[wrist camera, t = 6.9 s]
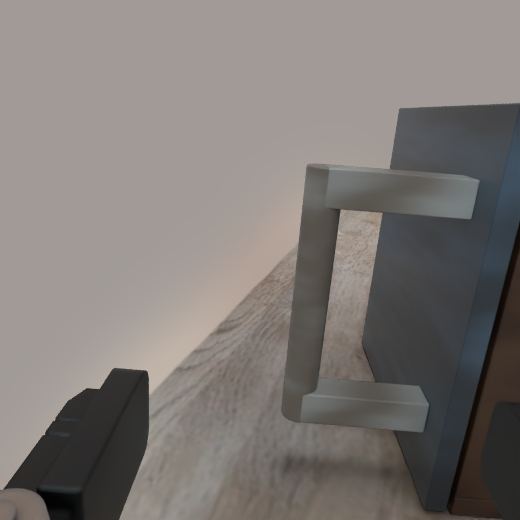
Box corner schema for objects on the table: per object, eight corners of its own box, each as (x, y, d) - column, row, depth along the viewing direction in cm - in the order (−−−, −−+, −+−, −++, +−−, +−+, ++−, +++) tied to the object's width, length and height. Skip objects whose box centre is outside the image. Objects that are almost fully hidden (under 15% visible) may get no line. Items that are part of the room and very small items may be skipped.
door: (276, 497, 21) (320, 87, 15) (276, 335, 36) (298, 100, 31) (445, 511, 21) (550, 105, 15) (374, 343, 36) (414, 109, 31)
